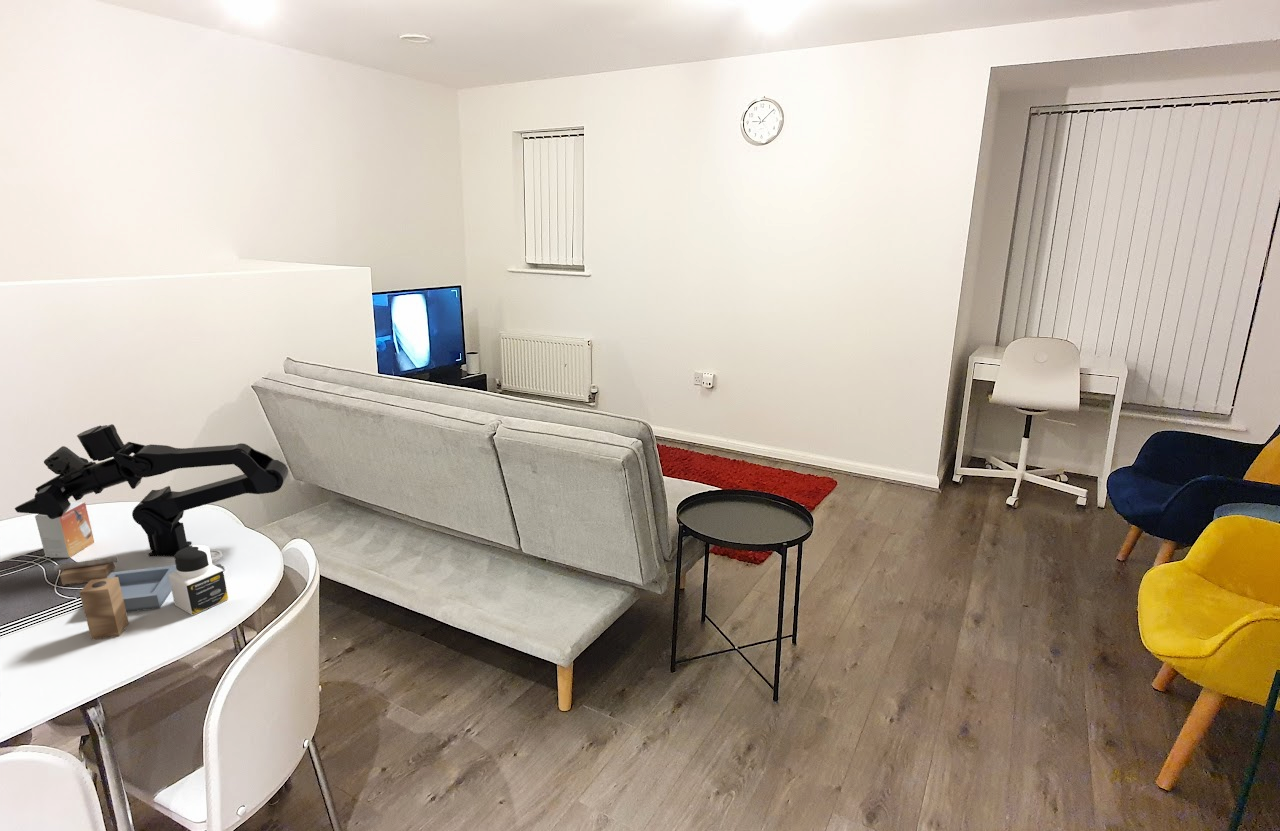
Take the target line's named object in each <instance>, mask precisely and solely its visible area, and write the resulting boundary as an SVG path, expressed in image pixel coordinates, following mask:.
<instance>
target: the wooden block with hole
mask: <svg viewBox="0 0 1280 831" xmlns="http://www.w3.org/2000/svg"><path fill="white" fill-rule="evenodd" d="M86 583H87V584H85V586H84V587H83V588H82V589H80V591H79V592H78V593H79V596H80V600H81V603H82V608H83V611H84V612H83V613H84V616H85V618H86V619H85V620H86V623H87V627H88V631H89V635H90V639H91V641H92V640H100V639H108V638H115V637H120V636H121V635H122V633H123V632H124V631H125V629H126V628H127V626H128V625H129V623H130V622H129V618H128V612H126V608H125V604H124V600H123V595H122V591H121V587H120V583H119V578H118V577H113V578H104V579H95V580H90V581H89V582H86Z"/></svg>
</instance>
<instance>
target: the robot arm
mask: <svg viewBox="0 0 1280 831" xmlns="http://www.w3.org/2000/svg"><path fill="white" fill-rule="evenodd" d="M76 437H77V438H78V440H79V442H80V444H81V445H82V446H83V449H84V450H85V452H86V454H87V455H88V457H89V458H90V459H91V460H92V461H89V460H88V459H87V458H84V457H80V456H79V455H78V454H76V453H75V452H73V450H71V449H70V448H68V447H67V446H65V445H62V446H61V447H59V448H58V449H56V450H55V451H54V452H52V453H51V454H50V455H48V457H46V459H44V460H43V464H44V465H45V466H46V467H47V469H49V470H50V471H51V472H52V473H53V474H56V476H55V477H53V478H51V479H50V480H47V481H46V482H44V483H42V484H41V485H40V486H37V487H36V488H35V491H36V493H35V494H34V498H31V499H29V500H28V501H25V502H23V503H22V504H19V505H18V506H16V507H15V508H14V510H15V511H16V513H21V514H35V515H38V514H41V515H47V516H48V517H49V518H50V519H55V518H58V517H61V516H63V514H64V513H65V512H66V511H67V510H68V509H69V507H70V505H71V503H70V502H71V501H69V499H70V498H71V497H73V499H74V500H75V502H78V501H79V500H81V499H82V498H83V497H84V496H87V495H89V494H92V493H94V494H95V495H98V494H101V493H102V491H104V489H107V488H111V487H114V486H117V485H120V484H123V483H128V485H129V487H130V488H131V489H132V490H134V489H136V488H137V487H138V486H139V485H140V484H141V482H142V479H143V478H150V477H151V478H152V477H154V476H159V475H163V474H165V473H168V472H172V471H175V470H178V469H188V468H189V469H190V468H201V467H204V468H205V467H214V466H215V467H216V466H228V465H234V466H236V467H237V468H239V469H240V470H241V472H242V473H243V474H241V475H239V474H238V475H237V476H232V477H229V478H226V479H221V480H218V481H215V482H210V483H208V484H204V485H201V486H196V487H193V488H190V489H185V490H182V491H173V490H172V489H171V486H170V485H168V486H165V487H163V488H160V489H152V490H150V491H149V492H148V494H146V495H145V496H144V498H142V500H141V501H140V502H139V503H138V504H137V505H136V506H135V507H134V508H133V510H132V514H131V516H132V520H134V521H135V523H137V525H140V527H141V528H142V530H143V531H144V532H145V533H146V536H147V540H148V544H149V550H150V552H148V553H147V556H148V557H174V556H175V554H176V553H177V552H178V551H179V550H181V549H183V548H185V547H188V546H189V545H190V546H192V545H193V544H192V541H187V536H186V532H185V526H184V523H183V522H180V520H181V519H182V518H183V517H184V514H185V511H187V510H192V509H194V508H198V507H201V506H206V505H210V504H212V503H216V502H220V501H223V500H226V499H230V498H234V497H237V496H241V495H245V494H246V495H247V494H250V495H251V494H253V495H262V494H263V495H264V494H272V493H275V492H278V491H279V490H280V489H281V488H282V486H283V484H284V483H285V481H286V479H287V477H288V476H289V470H288V467H287V465H286V464H285V463H284V462H282V461H280V460H278V459H274V458H273V457H271V456H269V454H267V453H264V452H261V451H258V450H257V449H254V448H253V447H251V446H250V445H248V444H246V443H237V444H227V445H215V446H214V445H213V446H211V445H210V446H199V447H186V448H185V447H184V448H182V447H181V448H178V447H173V446H169V445H163V444H147V445H145V444H141V443H136V442H133V441H127V442H126V443H125V444H124V442H123V441H122V439H121V437H120V435H119V433H118V431H117V428H116V426H115V425H114V424H109V425H106V424H105V425H97V426H94V427H91V428H89V429H87V430H84V431H82V432H80V433H78V434H77V435H76ZM131 454H133V455H131ZM110 458H111V459H110ZM96 461H98V463H97V462H96Z"/></svg>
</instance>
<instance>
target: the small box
mask: <svg viewBox="0 0 1280 831" xmlns="http://www.w3.org/2000/svg"><path fill="white" fill-rule="evenodd" d="M69 502H70V503H71V505H70V507H69V509H68V510H67V511H66V512H65V513H64V514H63V516H61V517H58V518H55V519H50V518H49V517H48V516H47V515H41V514H35V516H34V518H35V522H36V525H37V530H38V533H39V537H40V540H41V545H42V549H43V552H44V555H45V558H47V557H51V558H59V559H60V558H63V559H64V558H65V559H66V558H71V557H72V556H74V555H75V554H77V553H79V552H81V551H82V550H83V549H86V548H87V547H89V546H92V545H93V544H94V543H95V538H94V534H93V530H92V525H91V521H90V518H89V514H88V509H87V503H86V502H84V501H69Z"/></svg>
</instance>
